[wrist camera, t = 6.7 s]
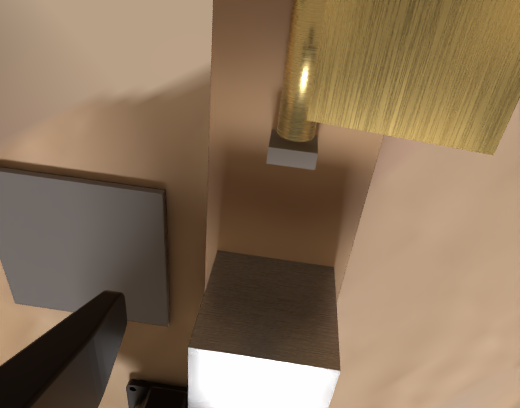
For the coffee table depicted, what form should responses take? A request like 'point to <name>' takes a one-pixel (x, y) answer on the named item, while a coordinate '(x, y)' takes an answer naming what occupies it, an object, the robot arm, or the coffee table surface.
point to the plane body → (275, 153)
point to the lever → (403, 69)
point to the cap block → (265, 335)
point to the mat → (84, 243)
